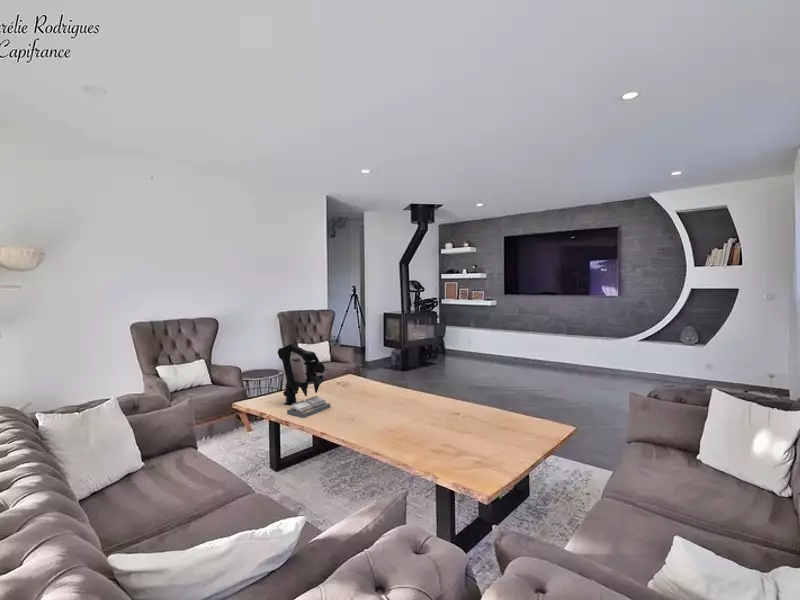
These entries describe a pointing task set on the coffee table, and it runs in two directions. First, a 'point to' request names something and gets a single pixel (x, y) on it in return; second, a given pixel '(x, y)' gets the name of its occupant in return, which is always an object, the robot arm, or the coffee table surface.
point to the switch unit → (308, 412)
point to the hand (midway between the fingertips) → (311, 394)
